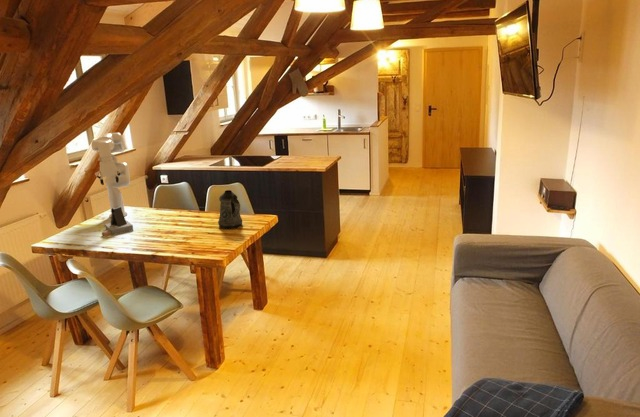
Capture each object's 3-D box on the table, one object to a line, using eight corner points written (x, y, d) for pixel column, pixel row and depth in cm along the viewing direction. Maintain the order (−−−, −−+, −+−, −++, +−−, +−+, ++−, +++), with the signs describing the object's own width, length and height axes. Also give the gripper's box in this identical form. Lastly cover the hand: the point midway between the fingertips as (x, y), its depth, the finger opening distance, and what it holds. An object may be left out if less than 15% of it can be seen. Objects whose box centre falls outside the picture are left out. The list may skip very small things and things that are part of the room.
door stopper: (126, 223, 322) (124, 207, 318) (119, 226, 317) (116, 209, 313) (117, 222, 326) (115, 205, 323) (110, 224, 321) (107, 208, 317)
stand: (105, 229, 324) (104, 224, 323) (126, 225, 332) (125, 219, 331) (112, 235, 312) (111, 229, 311) (133, 230, 320) (132, 224, 319)
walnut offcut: (102, 236, 311) (101, 231, 310) (108, 234, 314) (107, 230, 313) (105, 237, 308) (104, 233, 307) (111, 236, 311) (110, 231, 310)
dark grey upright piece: (226, 221, 334) (223, 187, 327) (250, 223, 327) (248, 188, 321) (213, 228, 319) (210, 193, 312) (239, 230, 312) (236, 194, 306)
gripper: (94, 161, 313) (98, 186, 318) (120, 158, 323) (124, 182, 328) (91, 160, 319) (95, 184, 323) (117, 157, 329) (121, 180, 334)
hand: (110, 183), depth 326 cm, fingers open, 9 cm apart
